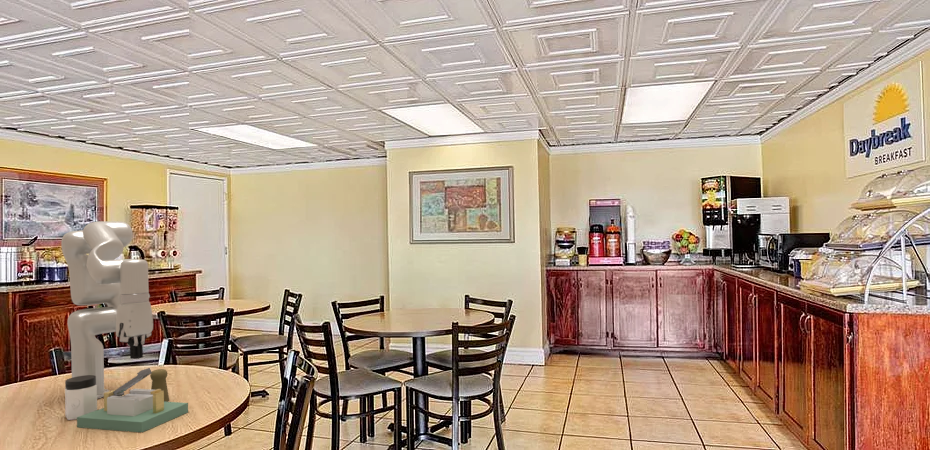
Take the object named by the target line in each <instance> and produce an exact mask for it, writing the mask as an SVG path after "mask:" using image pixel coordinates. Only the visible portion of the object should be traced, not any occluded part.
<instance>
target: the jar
mask: <svg viewBox="0 0 930 450" xmlns="http://www.w3.org/2000/svg"><path fill="white" fill-rule="evenodd" d="M64 381H65V383H64V384H65V386H64V396H65V397H64V399H65V400H64V403H65V404H64V405H65V408H64V409H65V413H64V415H65V418H66V420H67V421H73V420H74V421H75V420H76V421H77V417H79V416H82V415H85V414H88V413H90V412H93V411H96V410H98V399H97V385H96V376H94V375H85V376H78V377H73V378H72V377H70V378H67V379H66V380H64Z"/></svg>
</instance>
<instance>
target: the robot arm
mask: <svg viewBox="0 0 930 450" xmlns="http://www.w3.org/2000/svg"><path fill="white" fill-rule="evenodd" d="M132 240H133V229H132V226H130V224H128V223H127V222H125V221H118V220H117V221H107V220H106V221H104V220H103V221H94V222H93V221H92V222H89V223H88V224H86V225H85V226H84V227H83V230H81V229H80V230H73V231H68V232H66V233H65V234H64V235H62V239H61V251H62V255H63V257H64V260H65V262H66V265H67V267H68V271H69V286H70V298H71V302H72V303H73V304H74V305H76V306H91V305H100V304H101V305H102V304H106V305H107V306H104V307H103V306H101V307H93V308H83V309H78V310H76V311H75V310H74V311H73V312H72V313H70V314H69V316H68V318H67V329H68V333H69V338H70V339H69V340H70V350H71V353H70V356H71V378H73V377H78V376H85V375H94V376H96V385H97V400H99V399H102V398H104V393H106V392H109V391H110V389H106V388H105V365H104V363H105V362H104V361H105V359H104V358H105V356H104V345H103V343H102V341H100V340H99V339H98V338H97V337H96V336H97V335H102V334H108V333H115V335H116V337H118V338H119V342H121V343H126V344H127V346H128V347H129V357H130V359H131V360H133V359H134V360H135V359H136V360H138V359H142V358H144V351H143V345H145V341H146V340H147V338H149V337H151V336H152V331H153V330H154V316H153V309H152V305H151V302H150V297H151V295H150V293H149V292H150V291H149V290H150V289H149V288H150V287H149V263H148V261H147V260H146V259H142V258H141V259H138V258H127V259H125V258H124V259H122V258H120V259H119V257H120V256H121V255H122V253H123V252H124V248H125V247H127V246H128V245H129V244H130V243H131V242H132Z"/></svg>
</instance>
